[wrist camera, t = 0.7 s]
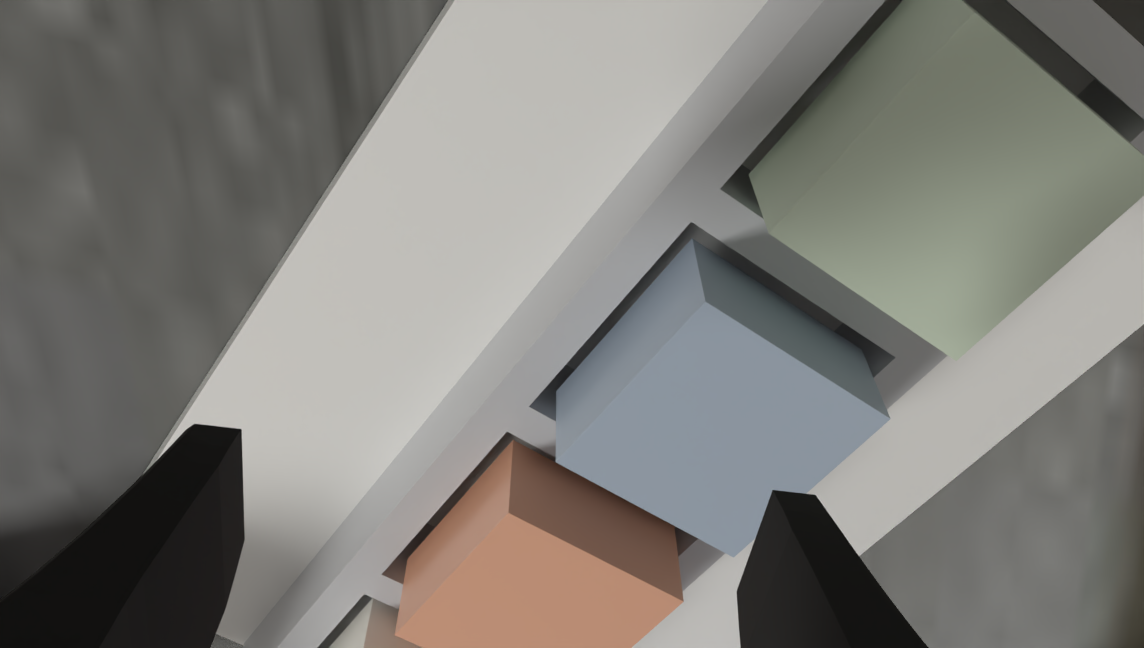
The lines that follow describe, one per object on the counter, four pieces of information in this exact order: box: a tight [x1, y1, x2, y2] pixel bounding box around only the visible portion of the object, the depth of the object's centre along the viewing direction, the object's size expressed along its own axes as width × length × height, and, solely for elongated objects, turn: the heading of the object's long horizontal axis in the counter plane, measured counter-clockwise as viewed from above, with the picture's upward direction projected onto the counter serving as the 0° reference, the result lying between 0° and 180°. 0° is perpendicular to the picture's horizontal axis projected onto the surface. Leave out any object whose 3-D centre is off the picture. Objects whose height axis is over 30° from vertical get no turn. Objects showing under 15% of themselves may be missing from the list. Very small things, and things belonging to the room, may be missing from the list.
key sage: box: [749, 0, 1144, 361], centre depth 17 cm, size 4×4×2 cm
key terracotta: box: [395, 440, 684, 648], centre depth 23 cm, size 4×4×2 cm
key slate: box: [556, 238, 890, 558], centre depth 20 cm, size 4×4×2 cm
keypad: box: [143, 0, 1144, 648], centre depth 23 cm, size 16×25×3 cm, turn 144°
